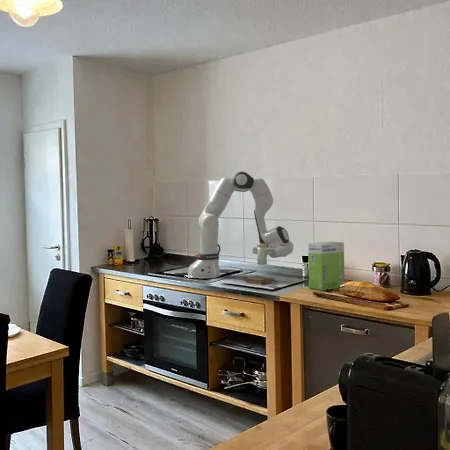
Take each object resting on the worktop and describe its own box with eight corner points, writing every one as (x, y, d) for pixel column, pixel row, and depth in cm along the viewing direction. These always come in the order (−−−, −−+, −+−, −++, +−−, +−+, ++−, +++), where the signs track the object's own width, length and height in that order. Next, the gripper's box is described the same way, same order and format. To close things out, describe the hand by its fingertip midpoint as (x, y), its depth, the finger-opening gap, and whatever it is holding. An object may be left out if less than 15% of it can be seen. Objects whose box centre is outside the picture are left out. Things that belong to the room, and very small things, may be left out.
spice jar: (259, 264, 292) (259, 244, 292) (255, 263, 298) (255, 243, 297) (268, 264, 294) (268, 244, 294) (264, 263, 300) (264, 243, 299)
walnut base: (260, 284, 287) (260, 280, 286) (246, 282, 293) (246, 278, 293) (270, 282, 294) (270, 277, 294) (256, 280, 301) (256, 276, 301)
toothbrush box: (330, 284, 283) (330, 240, 281) (345, 287, 274) (345, 242, 273) (307, 288, 272) (307, 243, 271) (322, 291, 264) (322, 244, 262)
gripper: (260, 244, 312) (246, 246, 301) (289, 245, 299) (275, 248, 288) (260, 254, 312) (246, 256, 302) (289, 256, 299) (275, 259, 289)
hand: (261, 252), depth 295 cm, fingers closed on spice jar, 5 cm apart
